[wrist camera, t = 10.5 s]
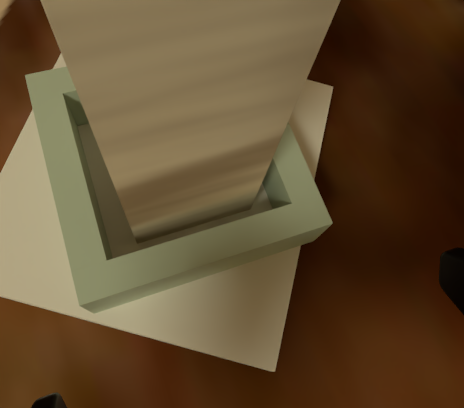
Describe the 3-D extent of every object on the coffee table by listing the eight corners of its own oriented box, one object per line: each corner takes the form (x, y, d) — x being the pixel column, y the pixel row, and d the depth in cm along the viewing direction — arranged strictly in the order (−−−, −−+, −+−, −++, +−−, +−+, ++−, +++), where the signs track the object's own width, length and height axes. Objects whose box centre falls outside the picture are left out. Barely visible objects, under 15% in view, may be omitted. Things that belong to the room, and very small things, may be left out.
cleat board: (282, 374, 17) (305, 377, 14) (-42, 285, 17) (-94, 267, 14) (336, 101, 22) (363, 56, 19) (84, 29, 22) (67, -28, 19)
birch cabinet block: (250, 209, 19) (372, -76, 7) (136, 244, 18) (33, -19, 6) (208, 99, 20) (242, -290, 8) (102, 124, 19) (-36, -277, 7)
